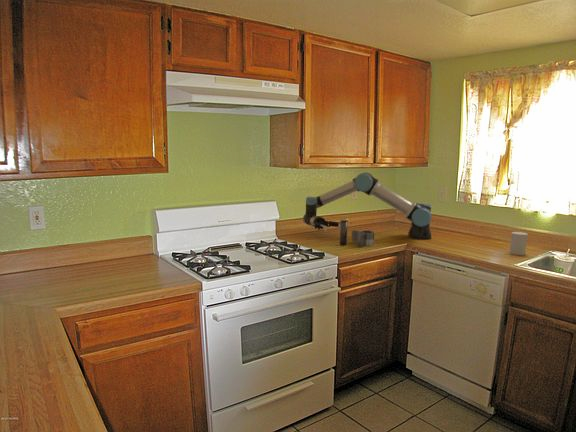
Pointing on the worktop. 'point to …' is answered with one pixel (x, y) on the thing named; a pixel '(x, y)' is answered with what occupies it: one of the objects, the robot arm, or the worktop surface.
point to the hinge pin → (343, 231)
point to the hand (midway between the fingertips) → (335, 227)
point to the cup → (518, 243)
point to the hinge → (363, 238)
